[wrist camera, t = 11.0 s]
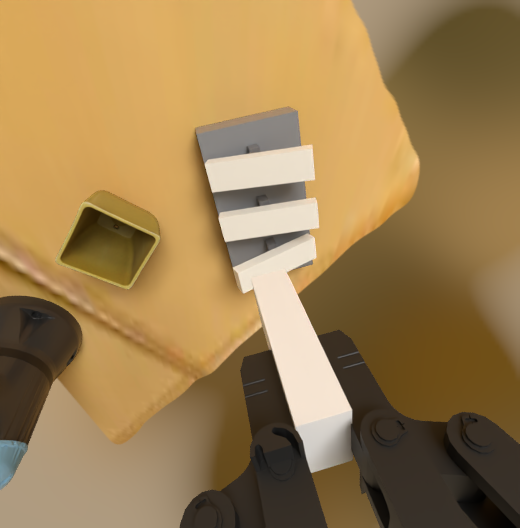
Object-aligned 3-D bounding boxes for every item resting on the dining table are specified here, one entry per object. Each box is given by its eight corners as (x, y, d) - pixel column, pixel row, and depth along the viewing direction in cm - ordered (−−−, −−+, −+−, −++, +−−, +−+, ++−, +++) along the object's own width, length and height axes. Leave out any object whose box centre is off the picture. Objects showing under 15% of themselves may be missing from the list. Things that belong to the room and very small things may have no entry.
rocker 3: (237, 287, 43) (243, 293, 42) (232, 267, 41) (237, 273, 40) (309, 253, 47) (316, 257, 46) (307, 233, 45) (314, 237, 44)
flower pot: (137, 255, 47) (129, 292, 40) (75, 228, 43) (53, 263, 36) (166, 207, 44) (162, 237, 37) (101, 173, 40) (82, 199, 33)
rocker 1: (215, 187, 39) (212, 192, 38) (207, 159, 37) (204, 164, 36) (314, 174, 37) (315, 179, 35) (312, 144, 35) (312, 148, 33)
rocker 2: (226, 235, 42) (224, 242, 41) (219, 212, 40) (218, 218, 39) (317, 221, 41) (319, 227, 40) (315, 197, 39) (317, 202, 38)
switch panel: (234, 269, 52) (239, 292, 47) (195, 127, 40) (196, 137, 35) (304, 251, 53) (317, 271, 48) (288, 106, 40) (302, 113, 35)
